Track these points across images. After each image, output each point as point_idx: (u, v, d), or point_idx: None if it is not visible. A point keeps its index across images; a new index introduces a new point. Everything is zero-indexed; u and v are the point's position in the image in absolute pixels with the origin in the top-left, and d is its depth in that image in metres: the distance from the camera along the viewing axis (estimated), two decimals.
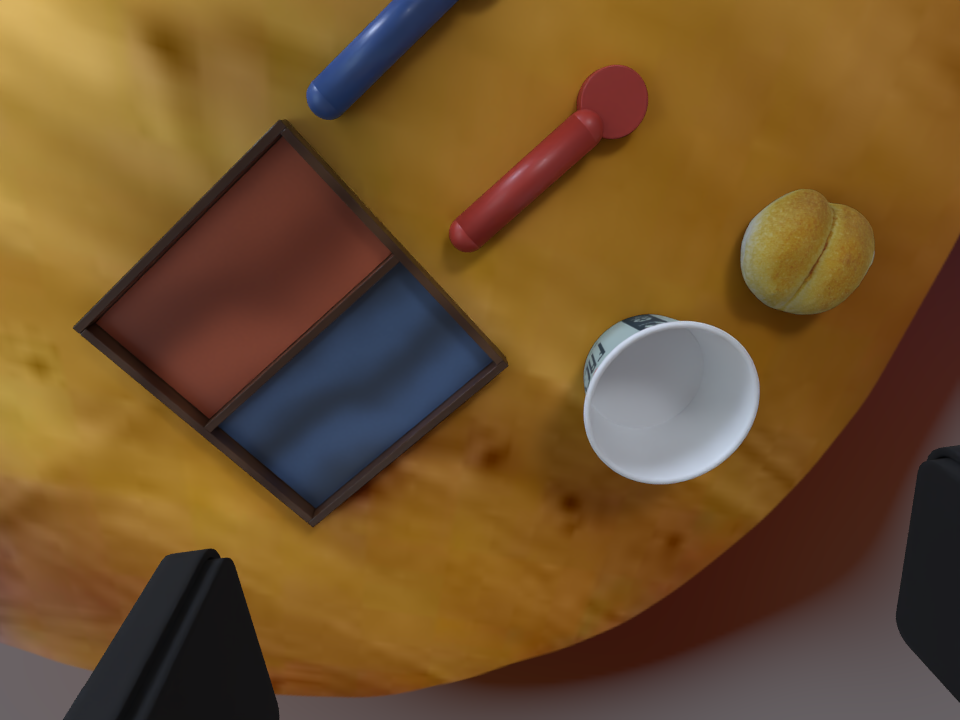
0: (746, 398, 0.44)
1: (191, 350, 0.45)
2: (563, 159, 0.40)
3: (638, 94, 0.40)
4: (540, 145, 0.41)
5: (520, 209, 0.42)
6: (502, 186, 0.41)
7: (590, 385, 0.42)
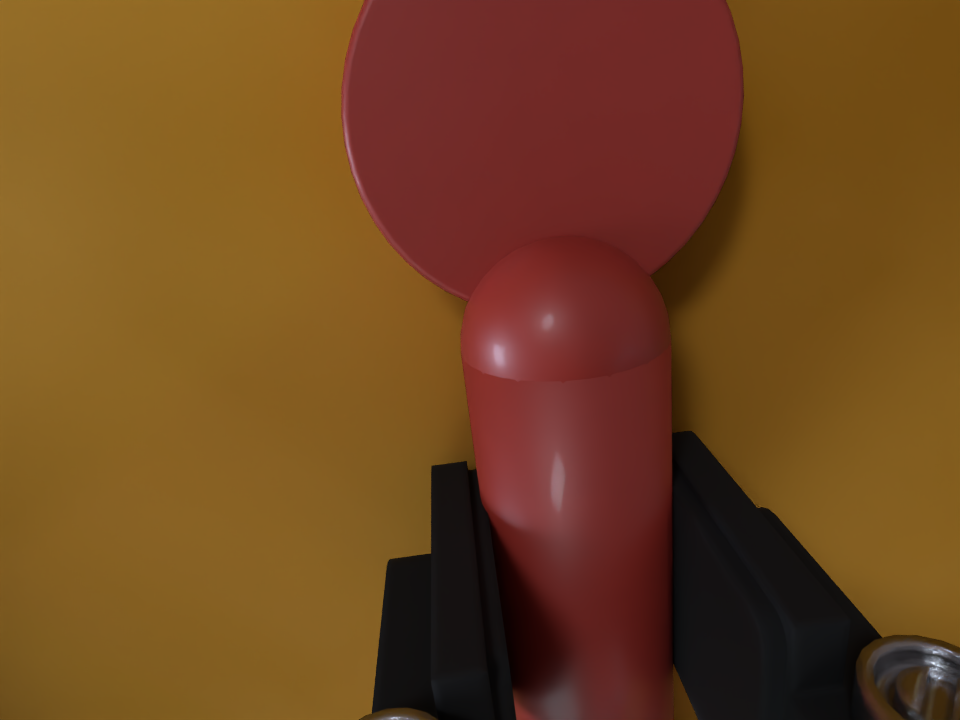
0: None
1: None
2: (626, 551, 0.07)
3: None
4: None
5: None
6: None
7: None
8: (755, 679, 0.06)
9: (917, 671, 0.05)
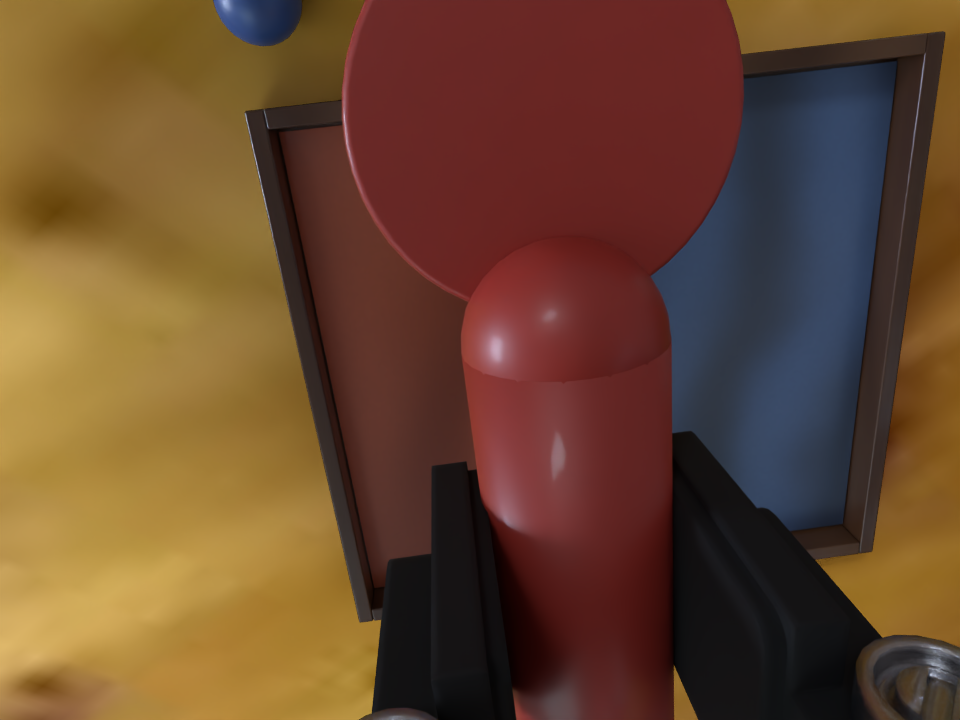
0: None
1: None
2: (626, 552, 0.07)
3: None
4: None
5: None
6: None
7: None
8: (755, 679, 0.06)
9: (917, 671, 0.05)
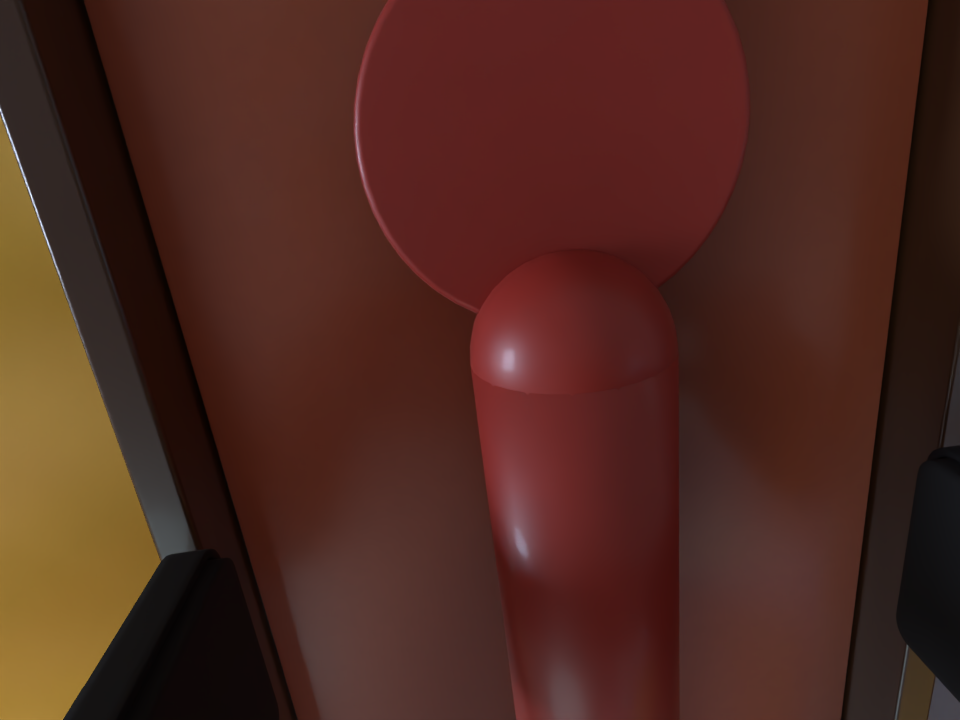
0: None
1: None
2: (633, 561, 0.07)
3: None
4: (502, 570, 0.08)
5: None
6: None
7: None
8: None
9: None
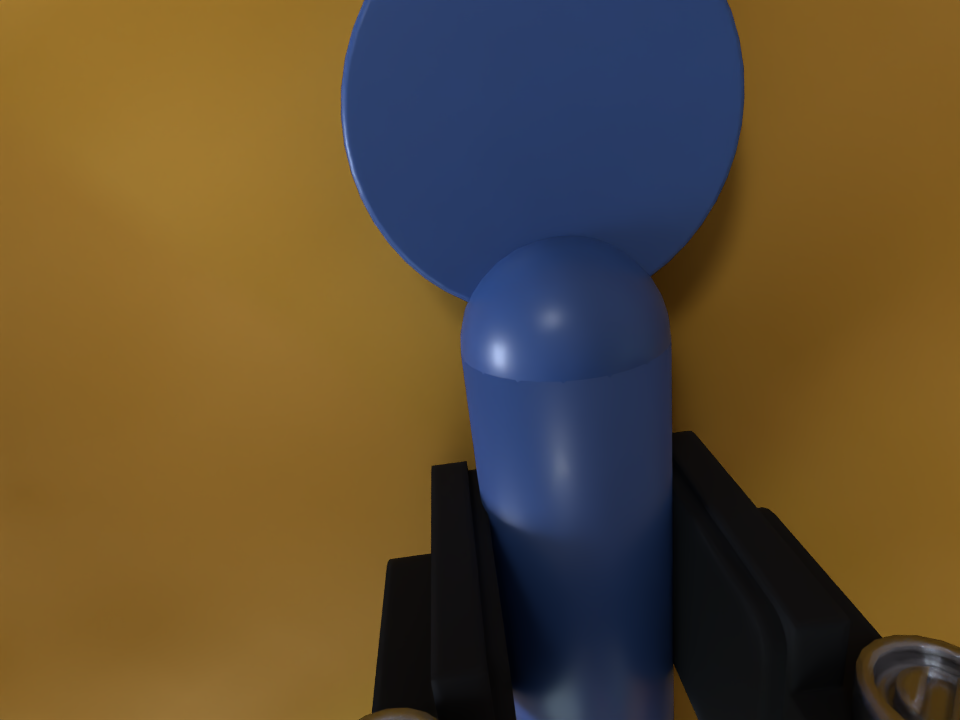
0: None
1: None
2: None
3: None
4: None
5: None
6: None
7: None
8: (755, 679, 0.06)
9: (917, 671, 0.05)
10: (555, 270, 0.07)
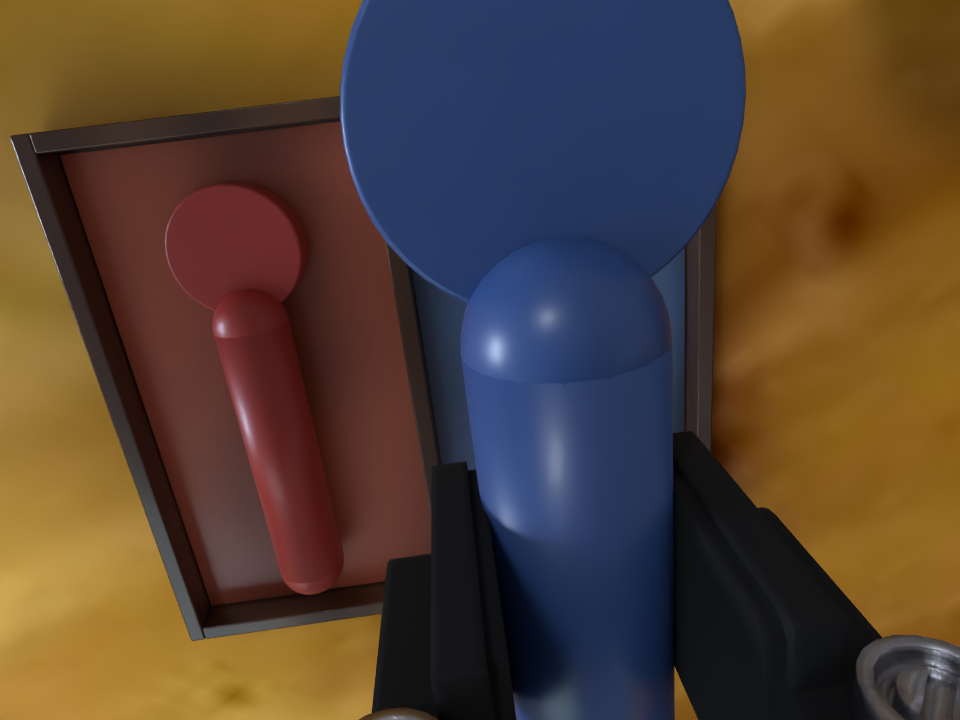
0: None
1: None
2: (268, 397, 0.21)
3: (241, 205, 0.20)
4: (234, 407, 0.22)
5: (315, 489, 0.23)
6: (262, 497, 0.23)
7: None
8: (755, 679, 0.06)
9: (917, 671, 0.05)
10: (555, 271, 0.07)
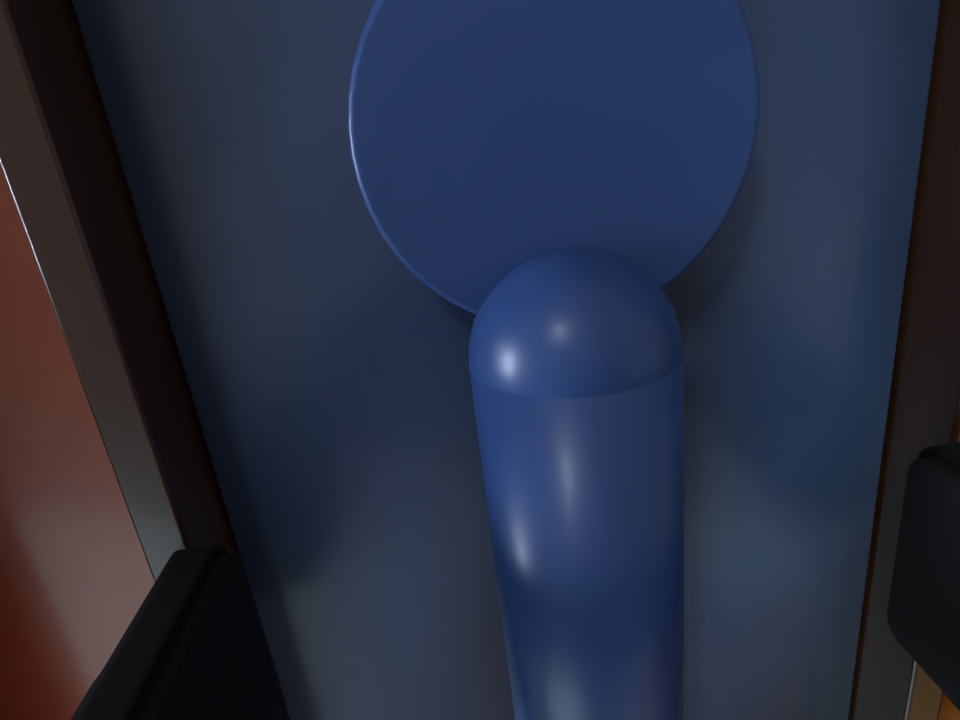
0: None
1: None
2: None
3: None
4: None
5: None
6: None
7: None
8: None
9: None
10: (566, 284, 0.07)
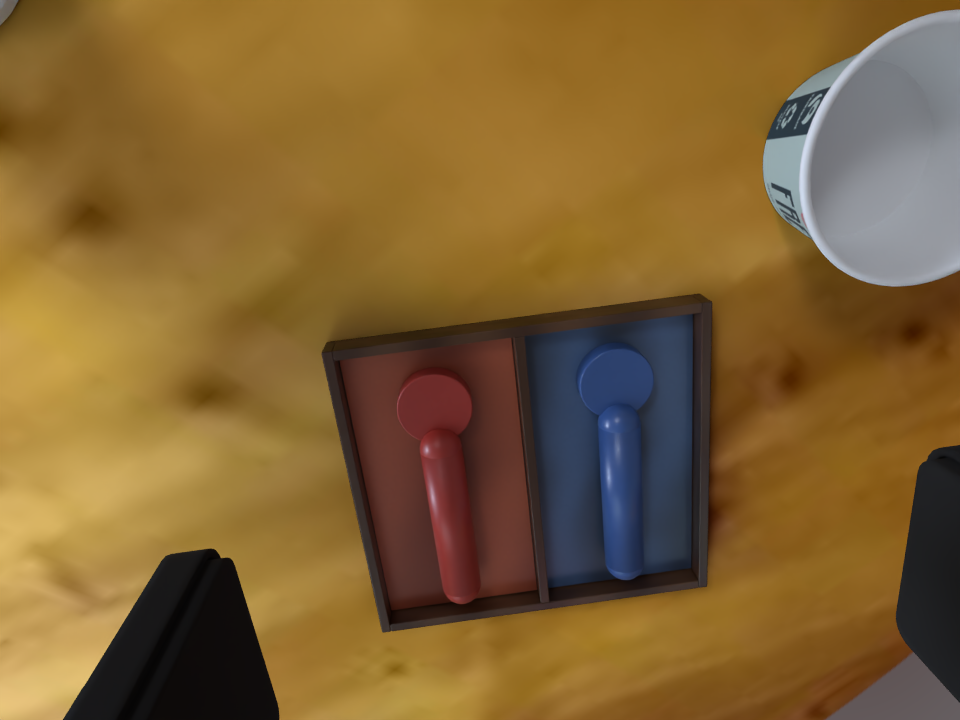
0: None
1: None
2: (452, 490, 0.37)
3: (442, 385, 0.36)
4: (427, 494, 0.38)
5: (471, 541, 0.39)
6: (440, 545, 0.39)
7: (816, 240, 0.30)
8: None
9: None
10: (619, 412, 0.37)
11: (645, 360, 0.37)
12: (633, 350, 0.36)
